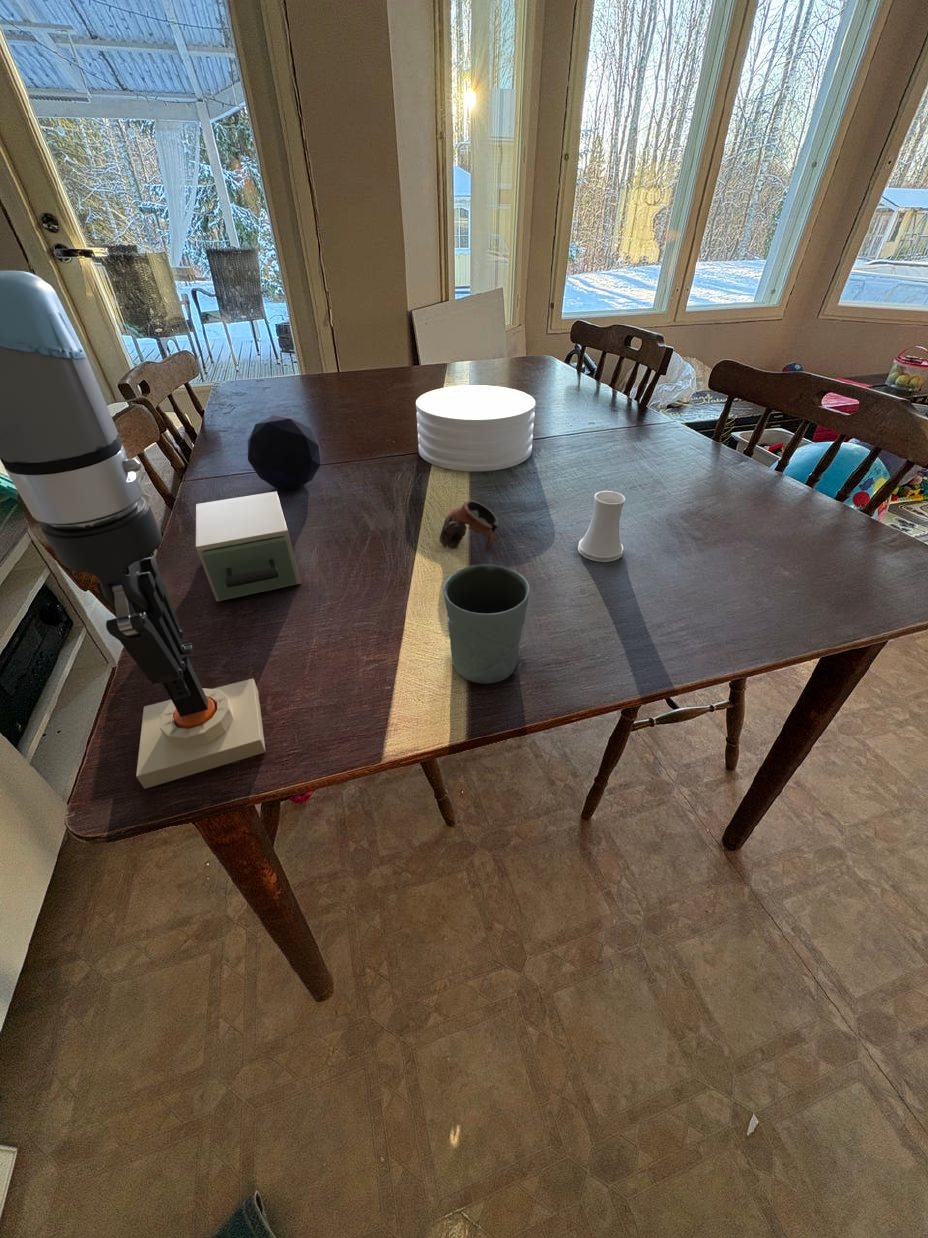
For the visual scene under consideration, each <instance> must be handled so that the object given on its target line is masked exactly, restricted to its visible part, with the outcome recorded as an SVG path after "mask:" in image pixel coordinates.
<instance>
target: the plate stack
mask: <svg viewBox="0 0 928 1238" xmlns="http://www.w3.org/2000/svg"><path fill="white" fill-rule="evenodd" d="M415 409H416V422H417V423H416V429H417V443H418V454H419V455H420V457H421V458H422V459H423V460H424V461H425V462H427V463H429V464H431V465H433V466H436V467H438V468H443V469H446V470H452V471H460V472H491V471H499V470H504V469H508V468H512V467H514V466H518V465H520V464H522V463H523V462H525V461H527V460H528V459H529V458H530V457H531V455H532V451H533V441H534V434H533V433H534V428H535V427H534V426H535V424H534V422H535V416H536V415H535V410H536V400H535V398H534V397H533V396H532V395H530V394H528V393H526V392H524V391H521V390H518V389H516V388H515V389H514V388H510V387H505V386H497V385H483V384H482V385H481V384H473V385H472V384H471V385H470V384H468V385H455V386H447V387H441V388H436V389H433V390H430V391H428V392H425V393H423V394H421V395H420V396H418V397H417V399H416V400H415Z"/></svg>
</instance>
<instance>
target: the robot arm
mask: <svg viewBox="0 0 928 1238" xmlns="http://www.w3.org/2000/svg"><path fill="white" fill-rule="evenodd" d="M88 358H89V357H88V356H87V353H86V351H85V350H84V347H83V346H82V344H81V342H80V340H79V337H78V335H77V334H76V331H75V328H73V325H72V323H71V320H70V318H69V317H68V315H67V312H66V310H65V308H64V306H63V304H62V302H61V300H60V298H59V296H58V294H57V292H56V290H55V289H54V287H52V285H51V284H49V283H48V282H46V281H45V280H44V279H42V278H41V277H40V276H38V275H36V274H34V273H32V272H27V271H22V270H0V462H1V464H2V465H3V467H4V470H5V471H6V473H7V475H8V477H9V478H10V480H11V482H12V483H13V485H14V487H15V489H16V491H17V492H18V494H19V496H20V498H21V500H22V501H23V503H24V504H25V506H26V508H27V510H28V512H29V513H30V515H31V517H32V518H33V519H34V520H36V521H37V522H40V523H41V524H40V530H41V532H42V533H43V535H44V537H45V539H46V541H47V542H48V543H49V545H50V547H51V548H52V551H53V552H54V554H55V555H56V557H57V559H58V561H59V562H60V563H61V565H63V566H64V567H65V568H67V569H69V570H71V571H74V572H78V573H86V574H89V575H92V576H95V577H96V578H97V579H98V581H97V582H96V588H97V591H98V593H99V595H100V596H101V599H102V600H103V602H105V603H107V604H108V605H109V606H110V608H111V611H113V613H114V616H115V618H111V619H107V620H106V622H105V627H106V631H107V632H108V633H109V634H110V636H112V637H114V638H115V639H116V640H118V641H119V643H121V645H122V646H123V647H124V649H125V650H126V651H127V652H128V654H129V655H130V657H131V658H132V659H133V660H134V662H135V664H136V665H137V666H138V668H139V669H140V670H141V671H142V673H143V674H144V675H145V677H146V679H147V680H149V682H150V683H151V685H153V686H156V685H160V684H162V685H163V687H164V689H165V691H166V693H167V694H168V697H169V698H170V700H172V702H173V704H174V705H175V707H176V709H177V711H178V713H179V715H180V717H182V716H186V715H189V714H193V713H197V712H200V711H204V710H208V699H207V697H206V695H205V693H204V691H203V686H202V684H201V683H200V680H199V678H198V676H197V674H196V672H195V670H194V667H193V666H192V663H191V661H190V660H189V657H188V656H184V655H188V654H191V653H194V645H193V643H192V642H190V643H185V644H184V643H183V641H182V640H183V639H184V635H185V633H184V631H183V630H182V627H181V624H180V621H179V619H178V617H177V614H176V612H175V609H174V606H173V604H172V602H171V599H170V596H169V593H168V590H167V588H166V584H165V583H164V580H163V577H162V575H161V572H160V570H159V566H158V564H157V563H158V562H157V560H156V556H155V551H156V550H157V549H158V548H159V547H160V545H161V543H162V539H163V535H162V531H161V529H160V527H159V524H158V522H157V519H156V516H155V515H154V512H153V510H152V508H151V506H150V503H149V501H148V500H147V499H146V498H144V497H142V494H143V489H142V486H141V484H140V482H139V479H138V477H137V474H136V472H139V471H140V470H141V469H142V465H141V462H140V461H139V460H138V458H129V459H128V457H127V454H126V453H127V451H126V449H125V447H124V445H123V441H122V439H121V437H120V434H119V432H118V429H117V427H116V424H115V422H114V419H113V417H112V414H111V412H110V410H109V408H108V405H107V402H106V400H105V397H104V395H103V393H102V390H101V388H100V385H99V383H98V380H97V378H96V376H95V373H94V371H93V368H92V365H91V363H90V361H89V359H88Z"/></svg>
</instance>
